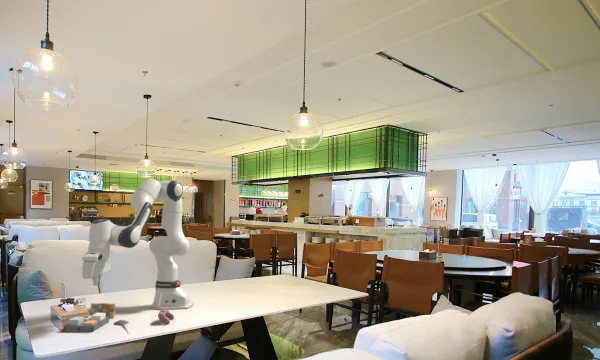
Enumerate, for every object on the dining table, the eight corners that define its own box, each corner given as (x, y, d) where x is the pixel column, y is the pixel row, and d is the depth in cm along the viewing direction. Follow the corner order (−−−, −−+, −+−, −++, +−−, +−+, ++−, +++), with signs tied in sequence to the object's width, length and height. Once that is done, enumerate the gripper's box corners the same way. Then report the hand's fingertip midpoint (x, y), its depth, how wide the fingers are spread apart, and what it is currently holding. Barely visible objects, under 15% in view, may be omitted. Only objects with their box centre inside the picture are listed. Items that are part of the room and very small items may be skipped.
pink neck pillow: (166, 322, 181) (160, 309, 182) (175, 317, 182) (169, 305, 182) (160, 328, 172) (154, 314, 172) (169, 323, 172) (164, 310, 173)
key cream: (105, 319, 169) (105, 312, 169) (100, 322, 164) (100, 315, 164) (96, 319, 168) (96, 312, 169) (90, 322, 163) (91, 315, 164)
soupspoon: (127, 324, 174) (111, 327, 171) (127, 317, 175) (111, 319, 171) (136, 335, 156) (119, 339, 153) (136, 327, 157) (119, 330, 153)
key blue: (83, 323, 161) (84, 316, 162) (77, 327, 156) (78, 319, 157) (74, 323, 161) (75, 316, 161) (68, 327, 156) (68, 319, 156)
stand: (116, 319, 178) (117, 303, 179) (112, 321, 174) (113, 304, 175) (90, 319, 177) (92, 302, 178) (86, 321, 173) (88, 304, 174)
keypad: (108, 324, 170) (109, 316, 170) (92, 334, 155) (93, 325, 155) (81, 323, 169) (82, 316, 169) (63, 334, 154) (64, 325, 155)
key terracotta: (97, 327, 162) (98, 320, 162) (91, 330, 157) (92, 323, 157) (88, 327, 161) (88, 320, 162) (82, 330, 156) (82, 323, 157)
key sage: (91, 322, 168) (92, 315, 168) (85, 325, 163) (86, 318, 163) (82, 322, 168) (83, 315, 168) (76, 325, 163) (77, 318, 163)
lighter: (73, 317, 180) (75, 296, 181) (76, 318, 178) (78, 297, 179) (55, 320, 173) (57, 298, 174) (58, 321, 171) (60, 299, 172)
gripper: (102, 251, 178) (100, 280, 177) (80, 257, 158) (78, 290, 157) (115, 251, 179) (113, 280, 178) (95, 257, 158) (93, 290, 157)
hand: (96, 285), depth 167 cm, fingers closed
